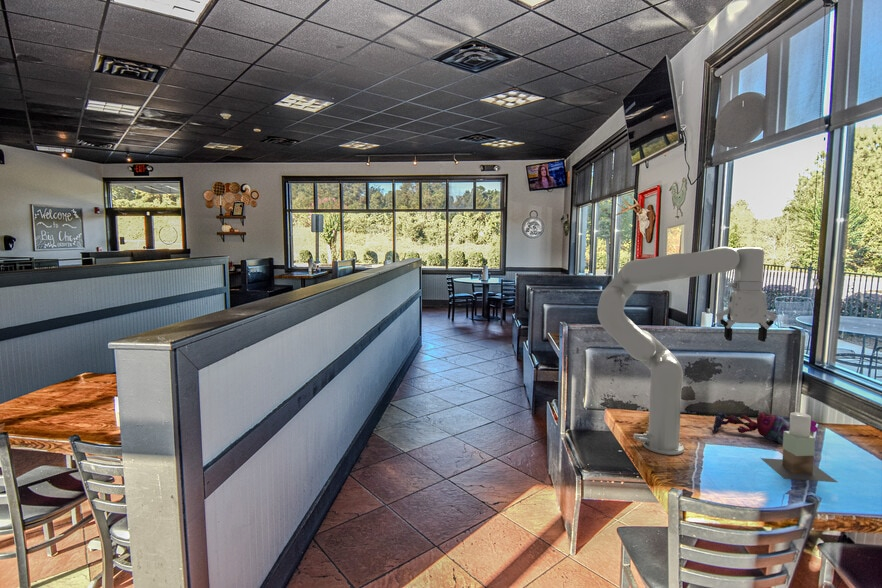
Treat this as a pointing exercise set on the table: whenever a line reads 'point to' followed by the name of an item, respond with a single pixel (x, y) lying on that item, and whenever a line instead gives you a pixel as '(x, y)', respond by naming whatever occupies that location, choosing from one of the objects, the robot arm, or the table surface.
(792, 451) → the block top
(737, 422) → the toy
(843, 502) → the table surface
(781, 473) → the mat
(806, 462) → the block bottom
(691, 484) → the table surface
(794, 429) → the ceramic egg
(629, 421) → the table surface
